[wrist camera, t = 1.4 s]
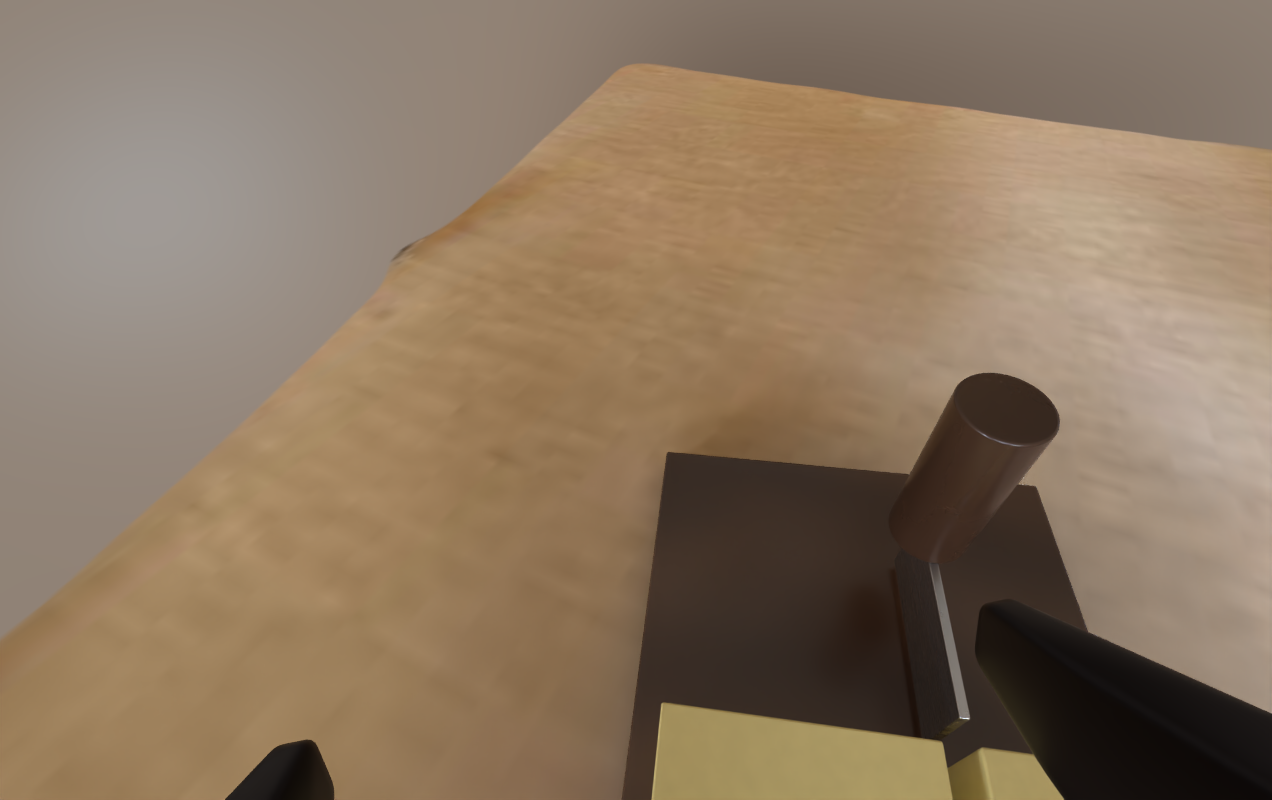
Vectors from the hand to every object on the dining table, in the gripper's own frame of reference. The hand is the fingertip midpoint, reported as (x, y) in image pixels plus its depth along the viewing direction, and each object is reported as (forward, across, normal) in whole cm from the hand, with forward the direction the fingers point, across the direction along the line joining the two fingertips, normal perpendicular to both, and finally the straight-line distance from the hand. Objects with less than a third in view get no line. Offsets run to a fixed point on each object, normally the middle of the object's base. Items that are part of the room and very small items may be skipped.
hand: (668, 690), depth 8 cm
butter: (+6, -4, +12) cm, 14 cm away
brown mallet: (+10, -10, +10) cm, 17 cm away
